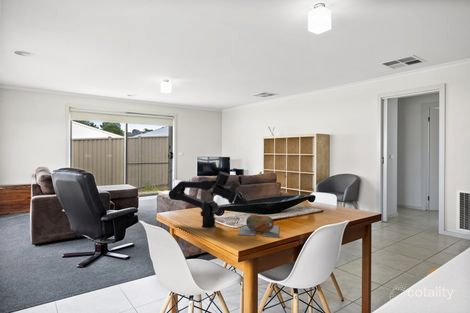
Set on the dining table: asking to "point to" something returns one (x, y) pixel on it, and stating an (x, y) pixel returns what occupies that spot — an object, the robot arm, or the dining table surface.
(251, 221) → the tin
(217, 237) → the dining table surface
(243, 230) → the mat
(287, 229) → the dining table surface
